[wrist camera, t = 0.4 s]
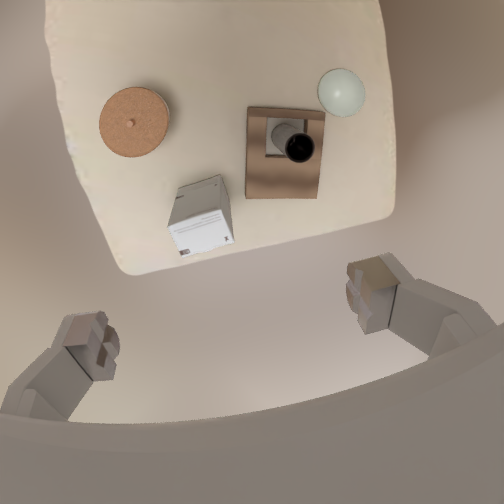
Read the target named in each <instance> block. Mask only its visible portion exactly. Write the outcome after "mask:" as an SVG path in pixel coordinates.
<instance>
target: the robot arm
mask: <svg viewBox="0 0 504 504" xmlns="http://www.w3.org/2000/svg"><path fill="white" fill-rule="evenodd" d="M347 275H348V276H349V278H350V280H349V281H348V283H347V284H346V294H347V300H348V303H349V306H350V308H351V310H352V311H353V312H355V313H357V314H358V323H359V324H360V326H361V328H362V330H363V332H364V334H370V333H374V332H377V331H381V330H384V329H388V328H389V330H390V331H392V332H393V333H395V334H397V335H398V336H400V337H401V338H403V339H404V340H406V341H407V342H409V343H410V344H412V345H413V346H415V347H416V348H418V349H419V350H421V351H423V352H424V353H426V354H427V355H429V358H428V360H427V361H426V362H423V363H420V364H418V365H416V366H414V367H411V368H408V369H406V370H403V371H401V372H398V373H395V374H393V375H390V376H387V377H384V378H381V379H379V380H376V381H373V382H370V383H367V384H364V385H360V386H357V387H354V388H351V389H348V390H344V391H341V392H338V393H334V394H331V395H327V396H323V397H320V398H316V399H312V400H308V401H304V402H300V403H296V404H291V405H286V406H282V407H277V408H272V409H267V410H262V411H256V412H251V413H245V414H239V415H232V416H225V417H217V418H209V419H200V420H191V421H179V422H165V423H144V424H142V423H141V424H99V423H77V422H69V421H68V418H69V417H70V415H71V414H72V412H73V411H74V410H75V408H76V407H77V405H78V404H79V402H80V401H81V399H82V398H83V397H84V395H85V394H86V392H87V391H88V390H89V388H90V387H91V385H92V384H93V381H106V380H113V378H114V374H115V369H116V363H115V361H114V359H115V358H116V357H117V356H118V354H119V350H120V343H119V338H118V335H117V333H116V331H115V329H114V328H112V327H111V326H109V325H108V318H107V316H106V314H105V313H104V312H102V311H94V312H86V313H79V314H72V315H67V316H65V317H64V319H63V321H62V323H61V325H60V327H59V330H58V332H57V334H56V336H55V339H54V341H53V344H52V346H51V348H47V349H46V350H45V351H44V352H43V353H42V354H41V355H40V356H39V357H38V358H37V359H36V360H35V361H34V362H33V363H32V364H31V365H30V366H29V367H28V368H27V369H26V370H25V371H24V372H23V373H22V374H21V375H20V376H19V377H18V378H17V379H16V380H15V381H14V382H13V383H12V384H11V385H10V386H9V387H8V390H7V392H6V395H5V398H4V401H3V403H2V406H1V410H0V504H504V322H503V323H502V324H500V325H498V326H497V325H496V324H495V322H494V321H493V320H492V319H491V317H490V316H489V315H488V314H487V313H486V312H485V311H484V309H482V307H481V306H480V305H479V304H478V302H476V301H473V300H471V299H468V298H466V297H464V296H461V295H459V294H456V293H454V292H451V291H449V290H446V289H444V288H441V287H439V286H436V285H434V284H431V283H429V282H426V281H424V280H421V279H416V280H415V279H414V278H413V276H412V275H411V274H410V273H409V272H408V271H407V270H406V269H405V267H404V266H403V265H402V264H401V263H400V262H399V261H398V260H397V258H396V257H395V256H394V255H393V254H392V253H389V252H388V253H384V254H381V255H377V256H375V257H371V258H367V259H362V260H359V261H354V262H350V263H348V266H347Z"/></svg>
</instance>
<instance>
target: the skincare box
mask: <svg viewBox="0 0 504 504" xmlns="http://www.w3.org/2000/svg"><path fill="white" fill-rule="evenodd" d="M167 228H168V230H169V232H170V234H171V236H172V238H173V240H174V242H175V244H176V246H177V248H178V250H179V252H180V255H181V257H182V258H185V257H188V256H191V255H194V254H197V253H200V252H208V251H211V250H212V249H214V248H216V247H219V246H223V245H227V244H232V243H234V242H235V241H234V236H233V227H232V218H231V208H230V201H229V198H228V195H227V192H226V189H225V186H224V183H223V180H222V177H221V175H217V176H215V177H212V178H210V179H207V180H204V181H201V182H198V183H195V184H192V185H188V186H185V187H181V188H179V189H178V192H177V196H176V199H175V202H174V206H173V209H172V212H171V216H170V219H169V223H168V226H167Z"/></svg>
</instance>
